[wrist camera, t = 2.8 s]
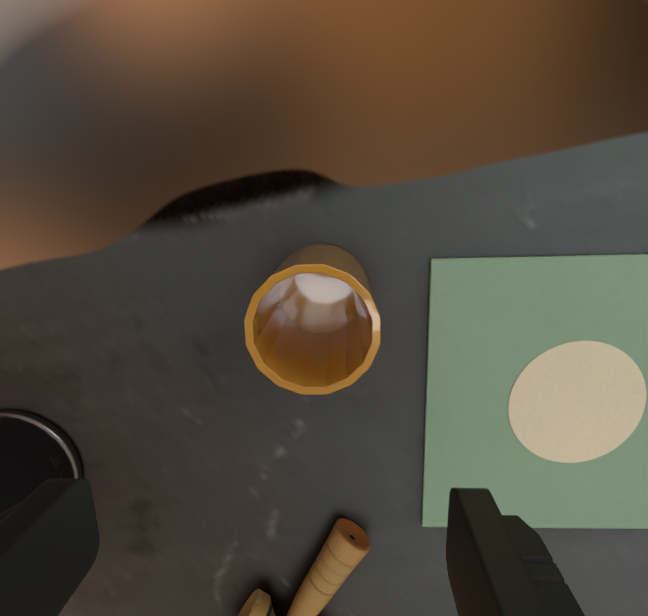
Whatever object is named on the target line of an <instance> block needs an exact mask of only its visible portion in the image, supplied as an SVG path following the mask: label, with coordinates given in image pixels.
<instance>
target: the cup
mask: <svg viewBox="0 0 648 616" xmlns="http://www.w3.org/2000/svg"><path fill="white" fill-rule="evenodd" d="M244 327H245V340H246V347H247V349H248V351H249V353H250V354H251V356H252V358H253V360H254V362H255V364H256V366H257V368H258V369H259V370H260V371H261V372H262V373H263V374H265V375H266V376H267V377H268V378H269V379H270V380H271V381H273V382H274V383H275V384H276V385H278V386H280V387H282V388H285V389H288V390H291V391H293V392H296V393H299V394H302V395H305V394H330V393H332V392H335V391H337V390H340V389H342V388H345V387H347V386H350V385H352V384H353V383H354V382H355V381H356V380H357V379H358V378H359V377H360V376H361V375H363V374H364V373H365V372H366V371H367V370H368V369H369V368H370V366H371V364H372V362H373V360H374V357H375V355H376V353H377V351H378V348H379V346H380V343H381V318H380V314H379V311H378V308H377V305H376V302H375V299H374V296H373V293H372V289H371V286H370V283H369V281H368V278H367V276H366V273H365V271H364V269H363V267H362V265H361V264H360V263H359V261H358V260H357V259H356V258H355V257H354V256H353V255H351V254H350V253H349V252H347V251H346V250H344V249H342V248H340V247H337V246H334V245H329V244H313V245H308V246H305V247H303V248H301V249H299V250H297V251H295V252H293V253H291V255H290V256H289V257H288V258H287V259H286V260H285V261H284V262H283V263H282V264H281V265H280V266H279V267H278V268H277V269H276V271H275V272H274V273H273V274H272V275H271V276H270V277H269V278H268V279H267V280H266V281H265V282H264V283H263V284H262V286H261V287H260V288H259V289H258V290H257V291H256V292H255V293H254V294H253V296H252V298H251V301H250V304H249V307H248V310H247V313H246V315H245V318H244Z"/></svg>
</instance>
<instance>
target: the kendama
mask: <svg viewBox="0 0 648 616" xmlns="http://www.w3.org/2000/svg"><path fill="white" fill-rule="evenodd" d="M370 547H371V543H370V540H369V538H368V536H367V535H366V533H365V532H364V531H363V530H362V529H361V528H360V527H359V526H358V525H357V524H355V523H354V522H352V521H350V520H348V519H344V518H340V519H338V520H337V521H336V523H335V525H334V527H333V529H332V531H331V532H330V534H329V536H328V539H327V540H326V542H325V544H324V545H323V547H322V550H321V551H320V553H319V554H318V556H317V558H316V560H315V561H314V563H313V565H312V567H311V569H310V570H309V572H308V574H307V575H306V577H305V579H304V580H303V582H302V584H301V586H300V588H299V590H298V592H297V594H296V596H295V598H294V600H293V602H292V604H291V606H290V609H289V611H288V613H287V615H286V616H317V615H318V614H319V613H320V611H321V610H322V609H323V608H324V607H325V605H326V604H327V603H328V602H329V600H330V599H331V598H332V596H333V595H334V593H335V592H336V591H337V590H338V589H339V587H340V586H341V584H342V583H343V582H344V581H345V580H346V578H347V577H348V576H349V574H350V573H351V572H352V571H353V569H354V568H355V567H356V565H357V564H358V563H359V562H360V561H361V560H362V559H363V557H364V556H365V555H366V554H367V553H368V551H369V550H370ZM238 616H276V615H275V613H274V610H273V607H272V603H271V597H270V595H268V594H267V593H265V592H263V591H262V590H260V589H256V590H255V591H254V592H253V593H252V594H251V595H250V597H249V598H248V600H247V601H246V602H245V604H244V606H243V607H242V609H241V611H240V612H239V614H238Z"/></svg>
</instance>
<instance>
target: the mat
mask: <svg viewBox="0 0 648 616" xmlns="http://www.w3.org/2000/svg"><path fill="white" fill-rule="evenodd" d="M451 488H487V489H489V490H490V492H491V494H492V496H493V498H494V500H495V502H496V504H497V506H498V508H499V510H500V512H501V515H518V516H519V517H520V518H521V519H522V520H523V521H524V522H525V523H527V524H528V525H529V526H530V527H531V528H629V529H648V254H616V255H570V256H523V257H477V258H431V259H430V280H429V310H428V340H427V370H426V400H425V430H424V460H423V490H422V520H421V524H422V527H447V524H448V508H449V494H450V490H451Z"/></svg>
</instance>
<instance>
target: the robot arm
mask: <svg viewBox="0 0 648 616" xmlns="http://www.w3.org/2000/svg"><path fill="white" fill-rule="evenodd" d="M98 548H99V531H98V526H97V520H96V514H95V508H94V503H93V497H92V491H91V487H90V484H89V482H88V481H87V480H86V479H83V472H82V466H81V461H80V458H79V456H78V454H77V451H76V449H75V448H74V446H73V444H72V443H71V442H70V440H69V439H68V438H67V437H66V435H65V434H64V433H63V432H62V431H61V430H59V429H58V428H57V427H56V426H54V425H53V424H52V423H50V422H49V421H47V420H45V419H43V418H41V417H39V416H37V415H34V414H32V413H28V412H24V411H19V410H0V616H58V614H59V613H60V611H61V610H62V609H63V607H64V606H65V604H66V603H67V601H68V600H69V599H70V597H71V596H72V594H73V593H74V591H75V590H76V589H77V587H78V586H79V584H80V583H81V581H82V580H83V579H84V577H85V576H86V574H87V573H88V571H89V570H90V568H91V567H92V565H93V563H94V561H95V558H96V555H97V552H98ZM446 560H447V569H448V576H449V581H450V585H451V589H452V592H453V596H454V600H455V604H456V608H457V612H458V615H459V616H585V615H584V614H583V612H582V610H581V608H580V606H579V605H578V603H577V601H576V599H575V598H574V596H573V594H572V592H571V591H570V589H569V587H568V585H567V584H565V583H564V578H563V576H562V575H561V573H560V571H559V569H558V568H557V566H556V564H555V563H553V560H552V557H551V555H550V553H549V552H548V550H547V548H546V546H545V545H544V543H543V541H542V539H541V537H540V536H539V534H537V533H536V532H535V531H534V530H533V529H532V528H531V527H530V526H529V525H528V524H527V523H525V522H524V521H523V520H522V519H521V518H520V517H519V516H518V515H501V512H500V510H499V508H498V506H497V504H496V502H495V500H494V498H493V496H492V494H491V492H490V490H489V489H487V488H451V490H450V494H449V508H448V524H447V540H446Z"/></svg>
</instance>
